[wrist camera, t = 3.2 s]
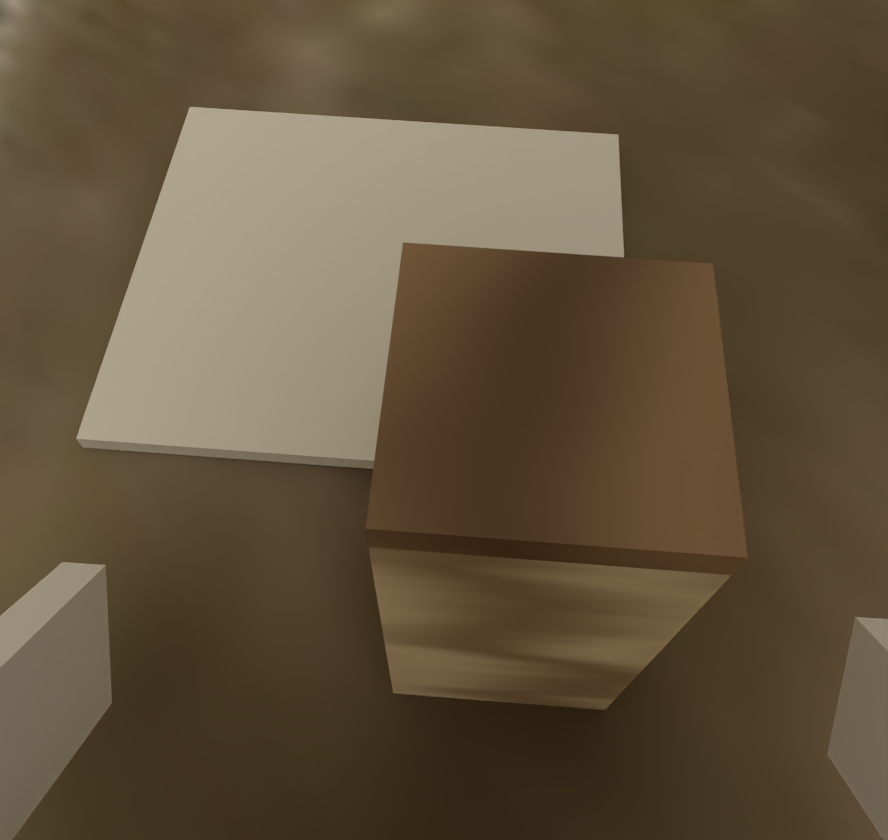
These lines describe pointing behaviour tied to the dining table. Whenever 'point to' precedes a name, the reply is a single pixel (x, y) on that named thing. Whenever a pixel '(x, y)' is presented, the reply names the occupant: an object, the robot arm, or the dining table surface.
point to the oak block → (548, 471)
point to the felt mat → (317, 271)
